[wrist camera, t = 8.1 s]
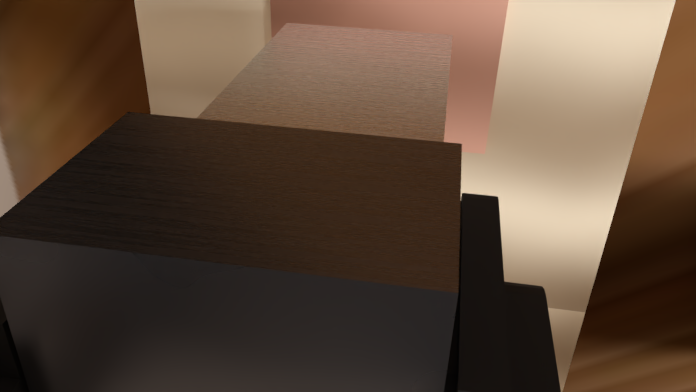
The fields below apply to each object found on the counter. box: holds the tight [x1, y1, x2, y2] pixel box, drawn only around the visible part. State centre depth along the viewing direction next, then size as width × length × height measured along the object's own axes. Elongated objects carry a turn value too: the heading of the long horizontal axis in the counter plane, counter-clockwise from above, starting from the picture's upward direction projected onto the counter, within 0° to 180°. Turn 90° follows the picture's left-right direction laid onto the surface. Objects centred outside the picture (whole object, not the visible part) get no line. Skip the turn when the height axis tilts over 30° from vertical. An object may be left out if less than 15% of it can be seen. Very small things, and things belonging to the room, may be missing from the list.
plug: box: [0, 23, 462, 392], centre depth 12 cm, size 6×4×11 cm
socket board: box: [134, 0, 676, 392], centre depth 25 cm, size 22×16×6 cm
